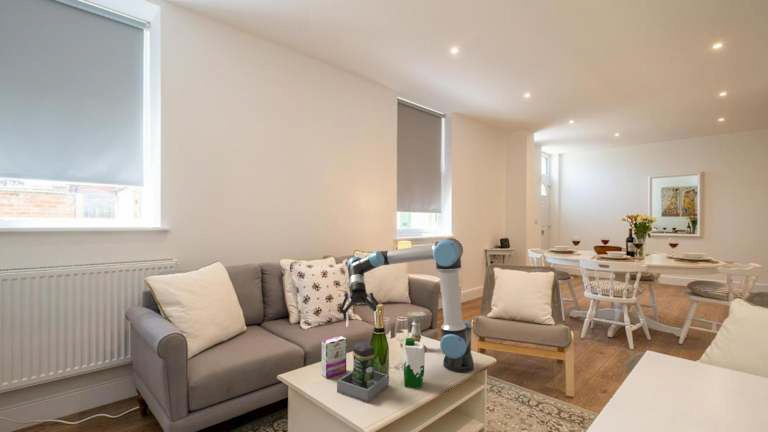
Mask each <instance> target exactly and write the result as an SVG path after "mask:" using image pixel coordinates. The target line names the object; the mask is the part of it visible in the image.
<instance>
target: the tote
mask: <svg viewBox="0 0 768 432" xmlns="http://www.w3.org/2000/svg"><path fill="white" fill-rule="evenodd" d="M352 378H353V370H352V371H350V372H349V373H347V374H345V375H343V376H342V377H340V378H339V379H338V380H336V393H338V394H341V395H344V396H347V397H350V398H353V399H355V400H358V401H361V402H363V403H366V404H368V403H370V402H371V401H372V400H373V399H374V398H376V397H377V396H379V394H381V393H383V391H385V390H387V388H389V385H390V382H389V381H390V376H389V374H385V373H382V372H380V371H376V372H374V385H372V386H371V387H370V388H368V389H365V388H362V387H359V386H356V385H353V384H352Z"/></svg>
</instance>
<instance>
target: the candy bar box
mask: <svg viewBox="0 0 768 432" xmlns="http://www.w3.org/2000/svg"><path fill="white" fill-rule="evenodd" d="M346 373H347V338H346V337H344V336H343V335H339V336H335V337H331V338H328V339H322V340H321V376H322V377H323V378H325V379H330V378H332V377H333V378H334V377H336V376H340V375H342V374H346Z"/></svg>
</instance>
